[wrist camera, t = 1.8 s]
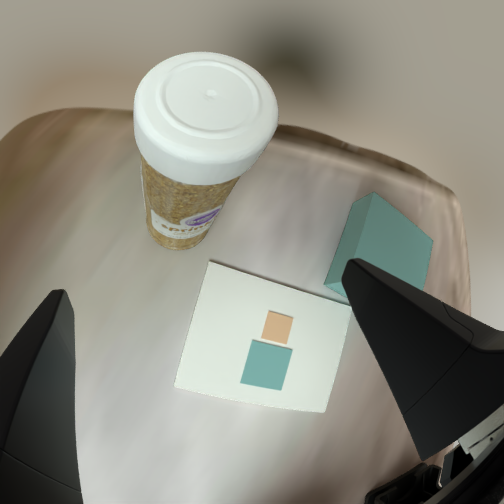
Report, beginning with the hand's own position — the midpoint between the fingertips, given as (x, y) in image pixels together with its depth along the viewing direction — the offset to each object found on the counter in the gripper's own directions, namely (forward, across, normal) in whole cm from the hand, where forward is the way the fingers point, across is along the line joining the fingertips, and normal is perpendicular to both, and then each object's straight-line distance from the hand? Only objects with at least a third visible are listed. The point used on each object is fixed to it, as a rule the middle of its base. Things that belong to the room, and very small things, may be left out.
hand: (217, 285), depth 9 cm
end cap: (-11, -18, +28) cm, 35 cm away
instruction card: (+5, -6, +11) cm, 14 cm away
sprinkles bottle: (+12, 0, +5) cm, 13 cm away
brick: (+9, -16, +8) cm, 20 cm away
